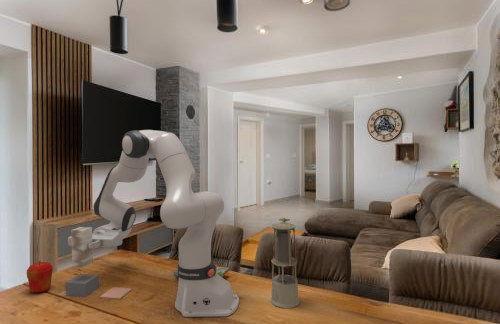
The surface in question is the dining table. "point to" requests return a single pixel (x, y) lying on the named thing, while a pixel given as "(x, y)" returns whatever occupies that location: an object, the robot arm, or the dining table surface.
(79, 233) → the cream block
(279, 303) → the lamp
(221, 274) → the puzzle game
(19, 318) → the dining table surface
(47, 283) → the apple
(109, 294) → the terracotta tile
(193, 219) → the robot arm
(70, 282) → the charcoal plinth
